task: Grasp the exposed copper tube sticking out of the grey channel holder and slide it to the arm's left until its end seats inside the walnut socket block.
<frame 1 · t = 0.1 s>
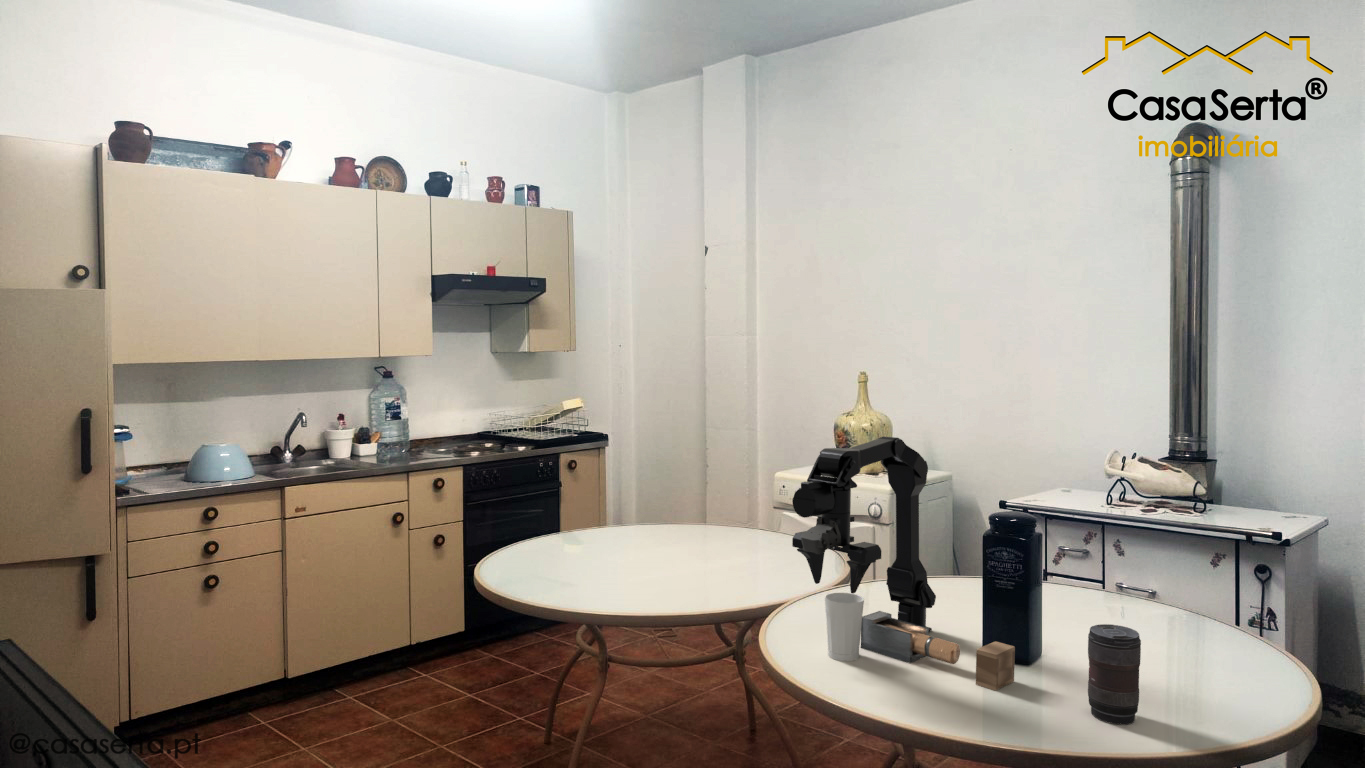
hand: (834, 588, 176), 15 cm above the table, fingers open, 9 cm apart
grey channel holder: (893, 651, 181), on the table
tube: (912, 641, 178), point 3 cm above the table, slide at 0.0 cm
cup: (843, 656, 179), on the table
camera lens: (1112, 718, 150), on the table
socket: (994, 682, 165), on the table
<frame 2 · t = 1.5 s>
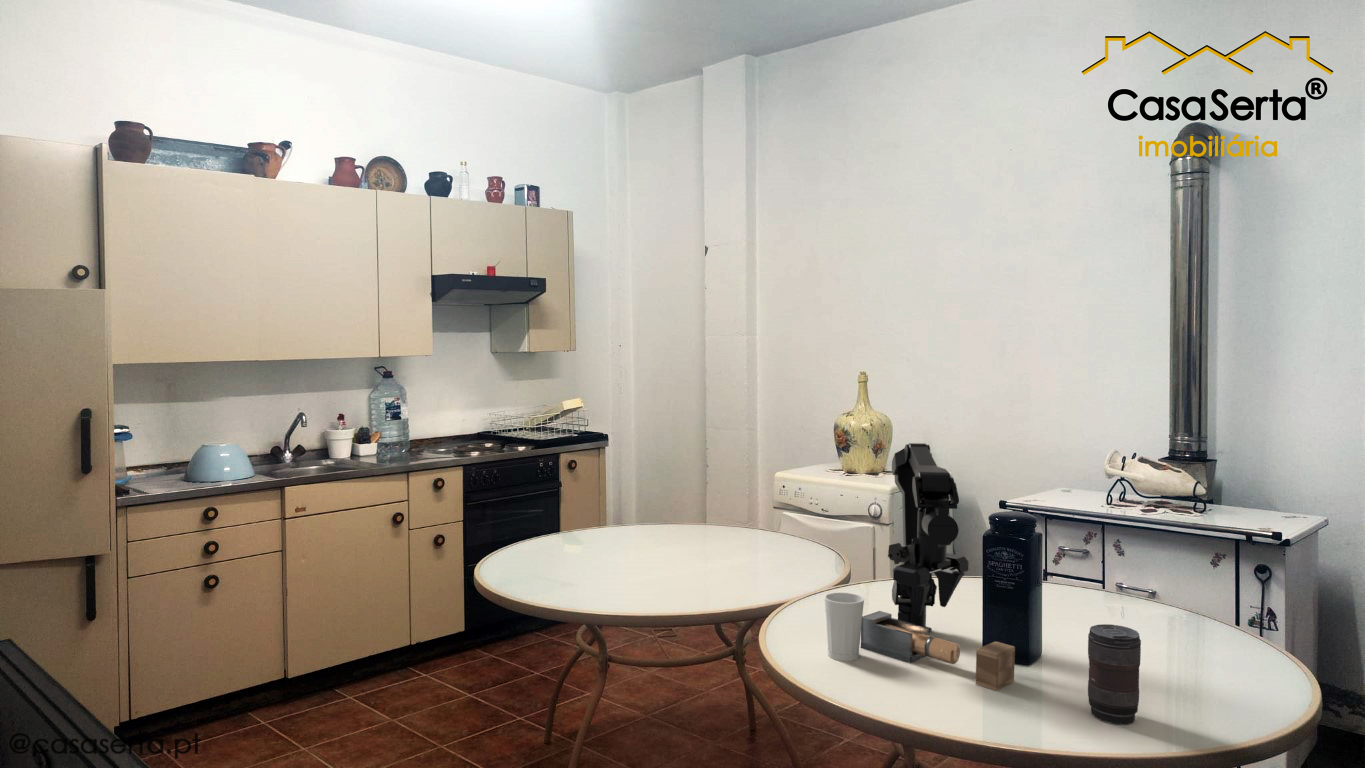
hand: (930, 610, 175), 11 cm above the table, fingers open, 9 cm apart
nothing on the table moved.
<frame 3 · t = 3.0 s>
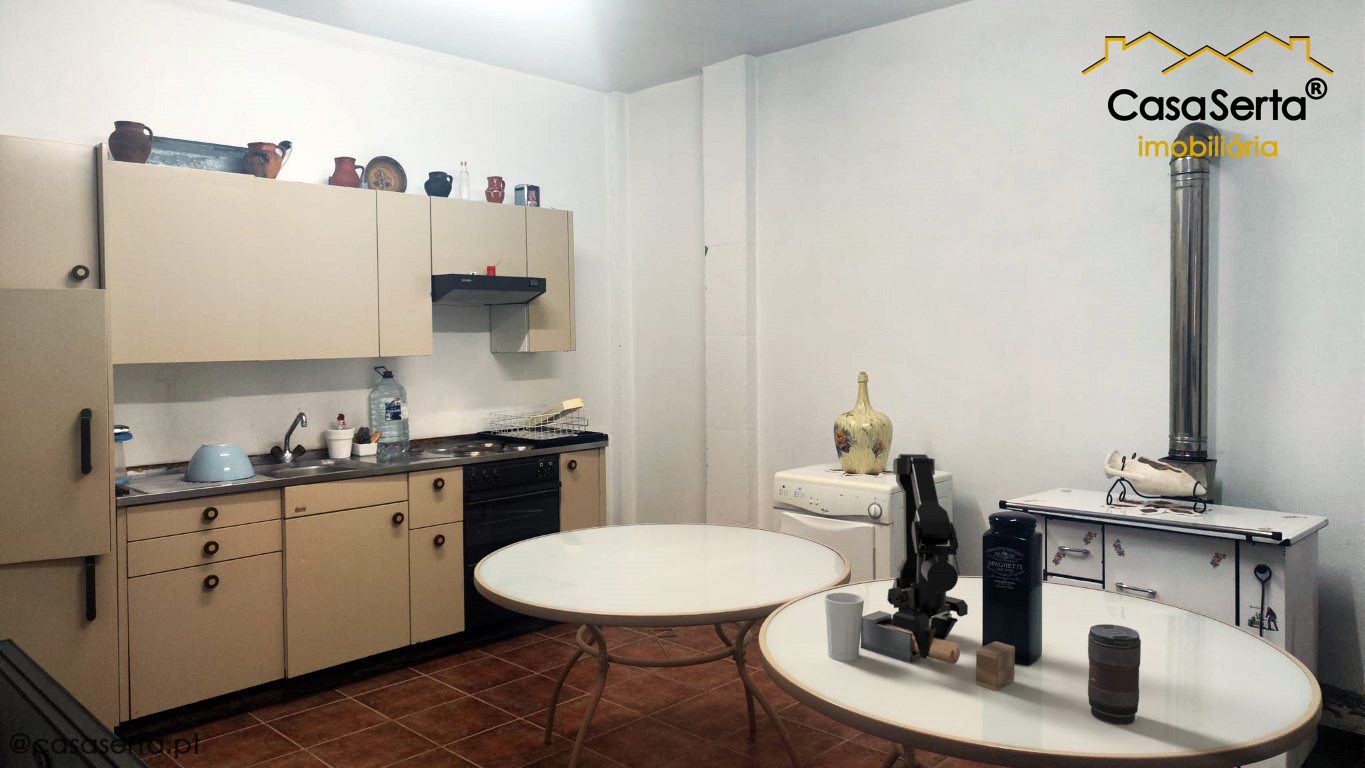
hand: (929, 655, 175), 2 cm above the table, fingers closed on tube, 4 cm apart
tube: (912, 641, 178), point 3 cm above the table, slide at 0.0 cm, touching gripper
everything else where it was.
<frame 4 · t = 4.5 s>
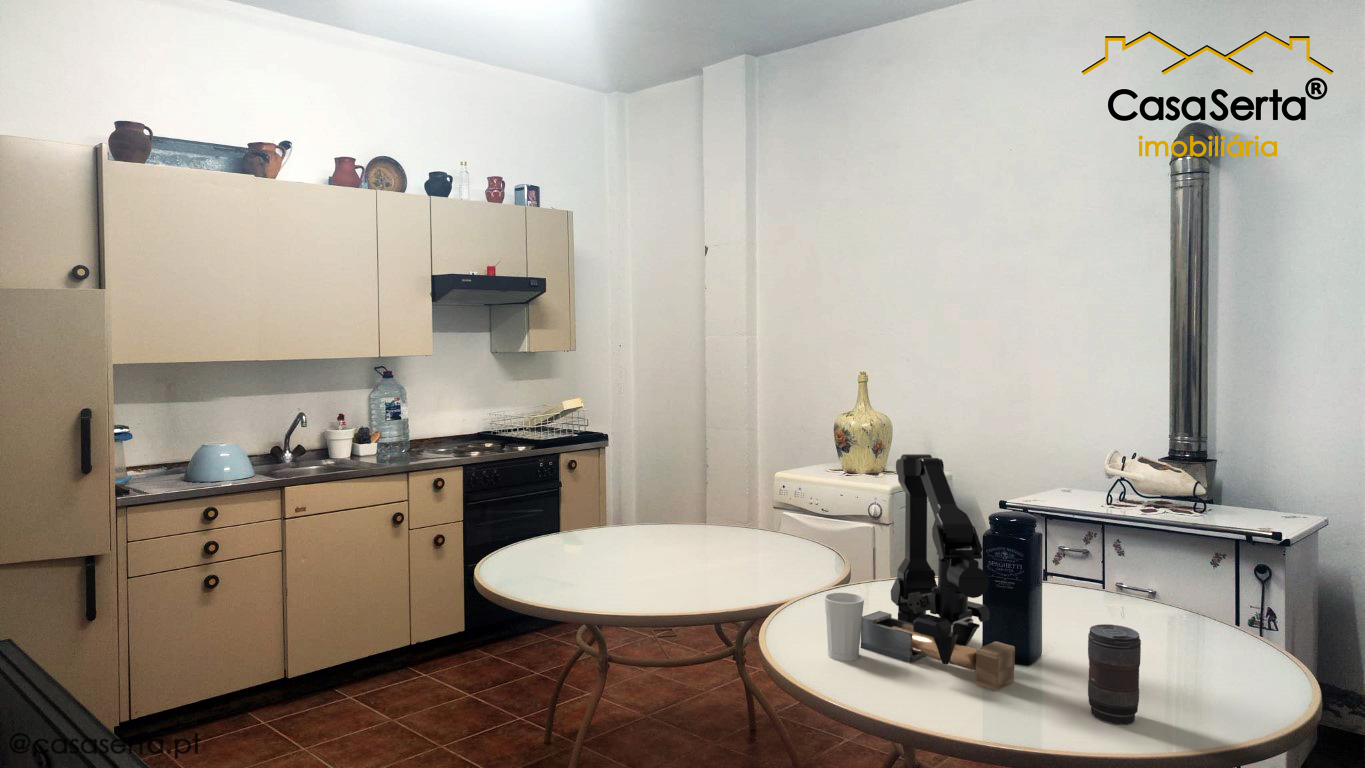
hand: (951, 661, 172), 2 cm above the table, fingers closed on tube, 4 cm apart
tube: (933, 647, 175), point 3 cm above the table, slide at 4.8 cm, touching gripper
everything else where it was.
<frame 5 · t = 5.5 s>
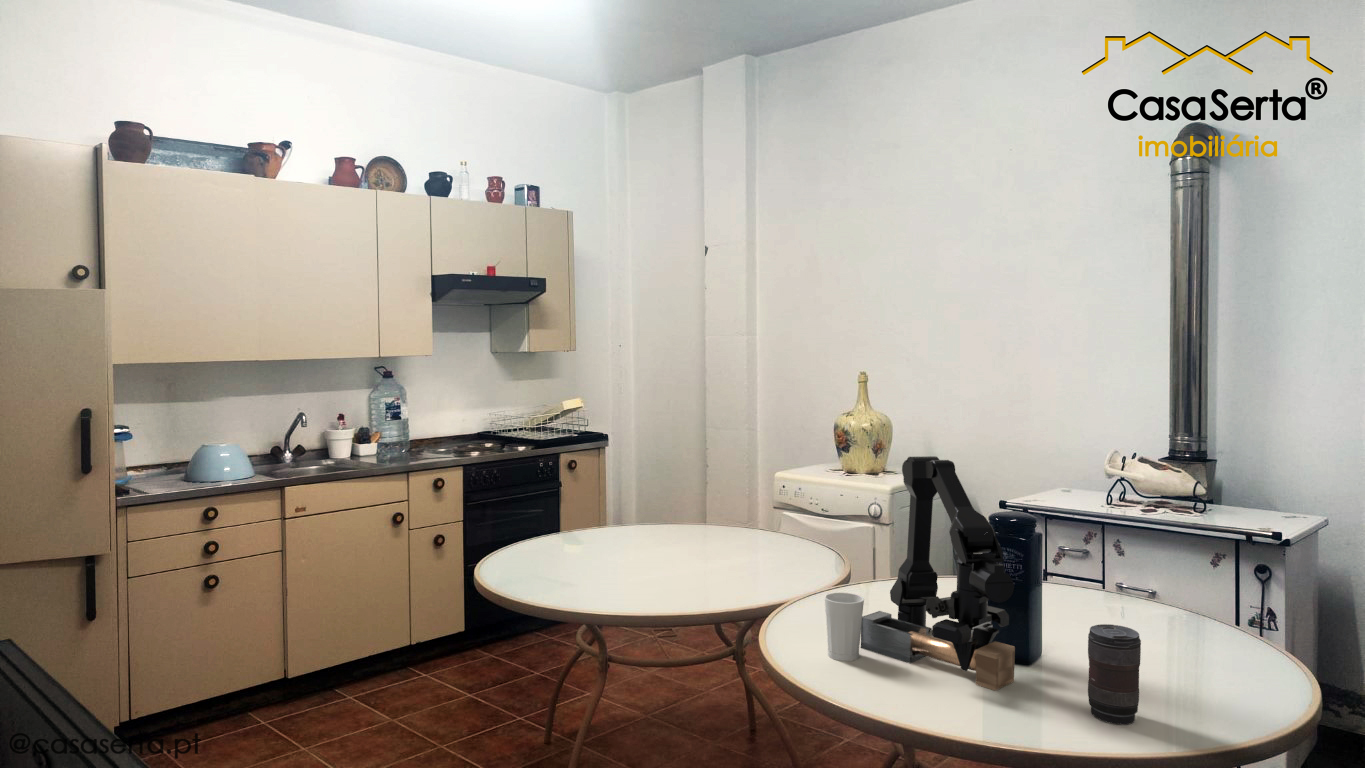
hand: (970, 667, 169), 2 cm above the table, fingers closed on tube, 4 cm apart
tube: (952, 653, 171), point 3 cm above the table, slide at 8.9 cm, touching gripper
everything else where it was.
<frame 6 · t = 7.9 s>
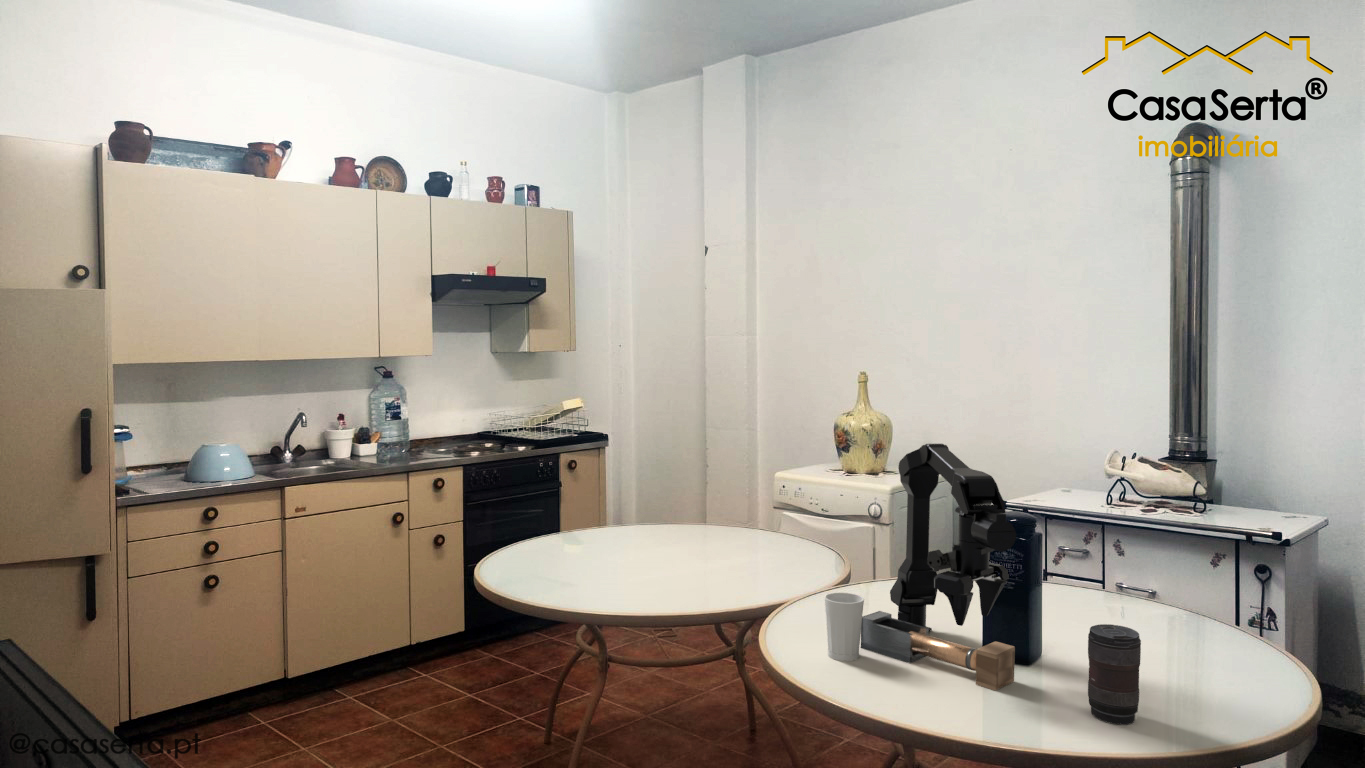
hand: (972, 620, 168), 11 cm above the table, fingers open, 9 cm apart
tube: (952, 653, 171), point 3 cm above the table, slide at 8.9 cm
everything else where it was.
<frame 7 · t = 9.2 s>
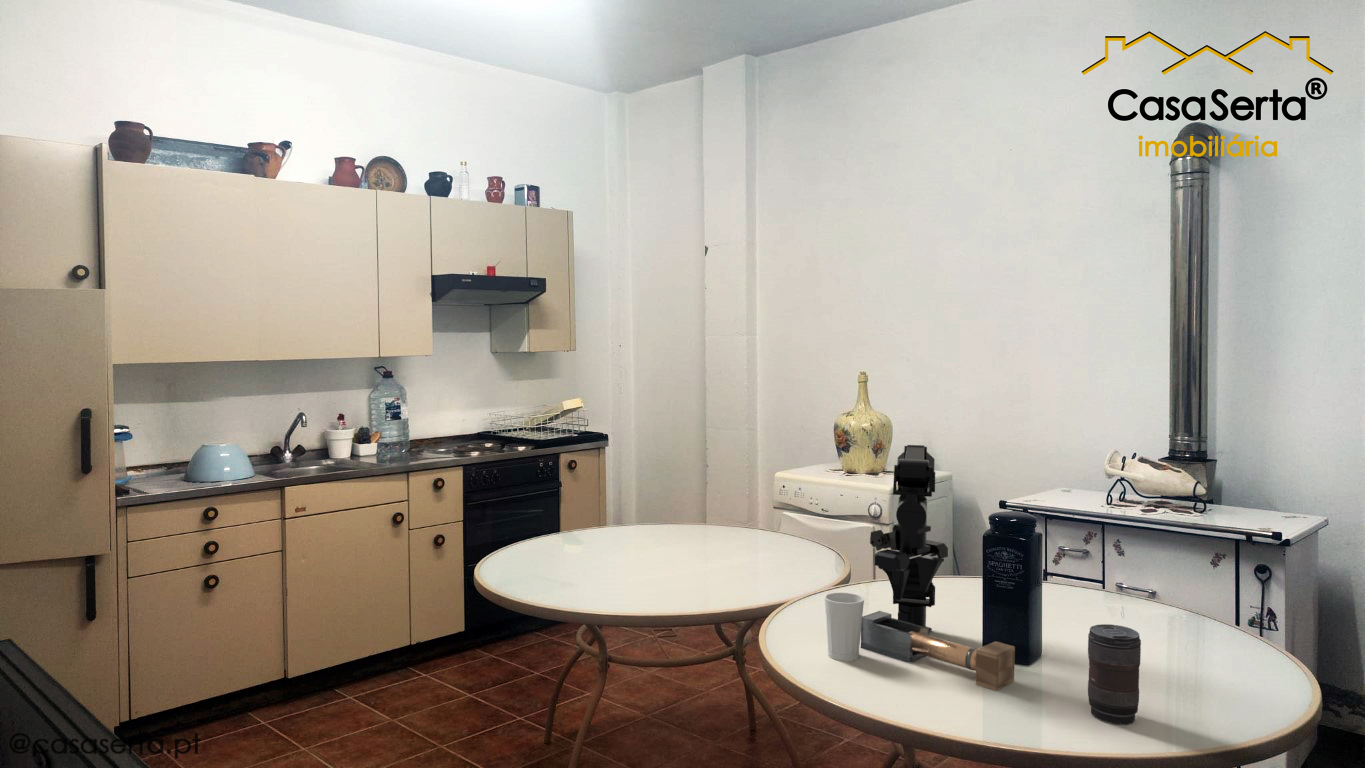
hand: (910, 595, 181), 12 cm above the table, fingers open, 9 cm apart
nothing on the table moved.
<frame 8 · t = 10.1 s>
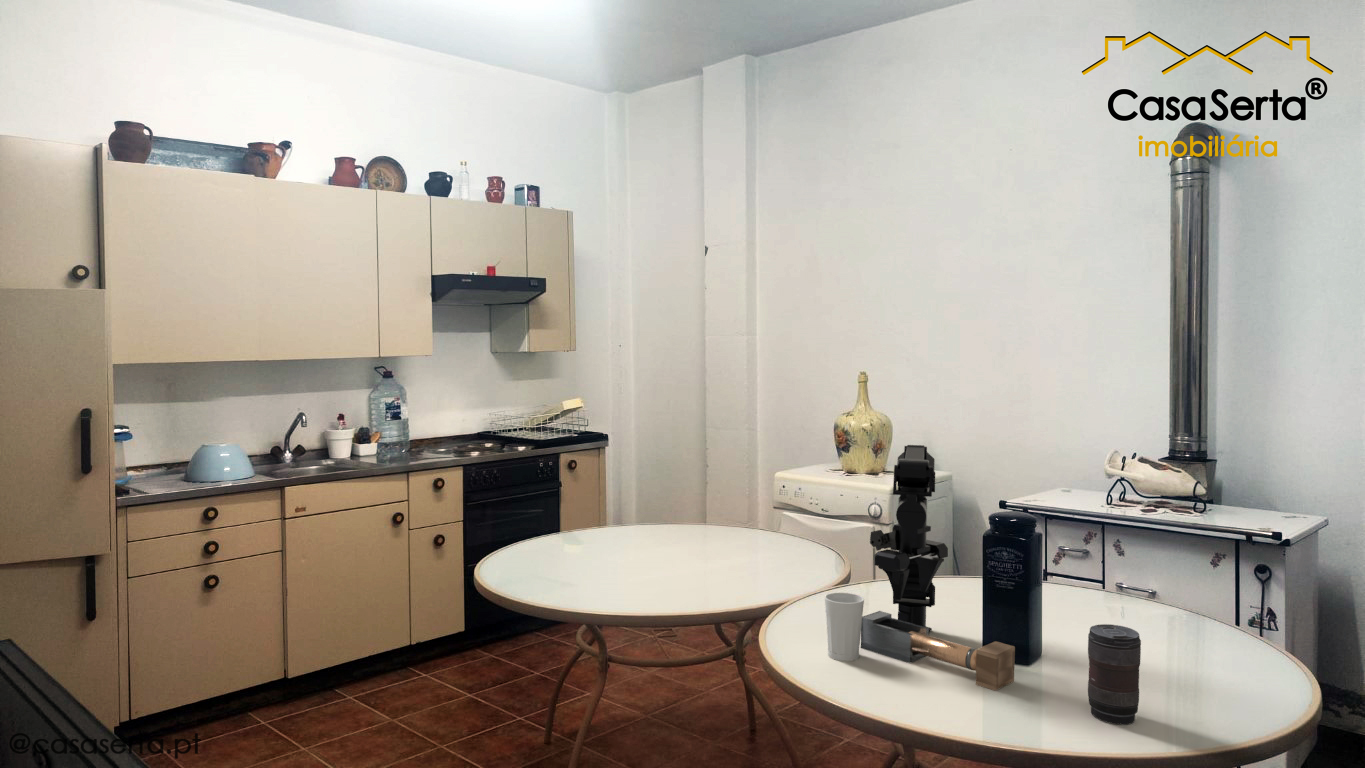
hand: (910, 595, 181), 12 cm above the table, fingers open, 9 cm apart
nothing on the table moved.
at the end: tube slide at 8.9 cm; the gripper is holding nothing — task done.
